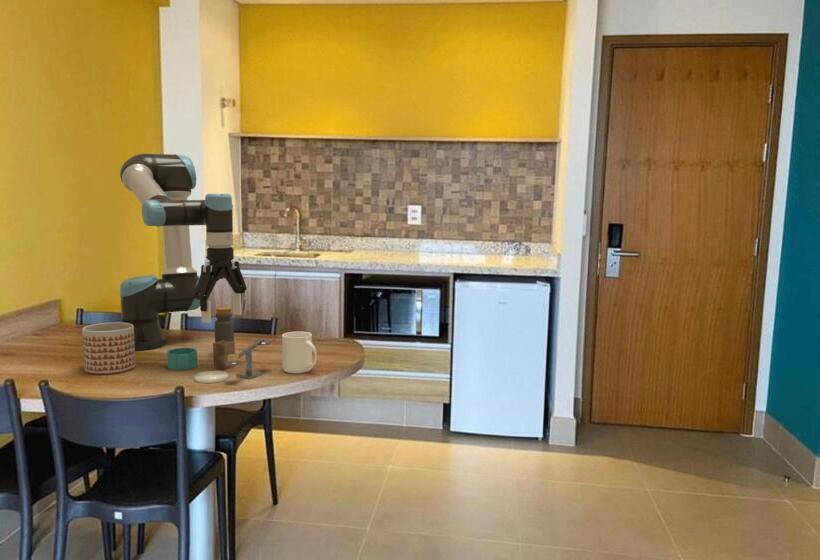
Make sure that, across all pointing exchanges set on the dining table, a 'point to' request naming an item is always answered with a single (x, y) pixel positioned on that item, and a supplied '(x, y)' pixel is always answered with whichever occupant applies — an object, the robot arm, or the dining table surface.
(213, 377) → the dish
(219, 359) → the block
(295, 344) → the mug
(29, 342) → the dining table surface
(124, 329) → the planter
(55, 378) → the dining table surface
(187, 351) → the collar
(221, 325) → the bottle
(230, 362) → the balance
